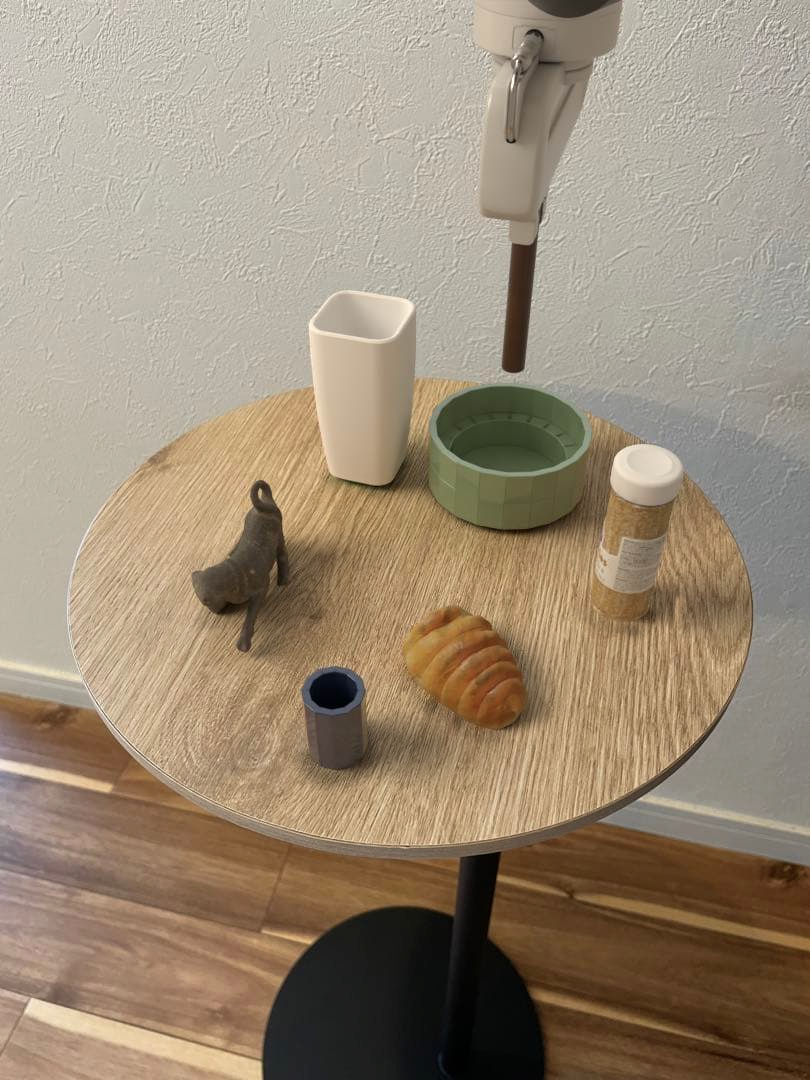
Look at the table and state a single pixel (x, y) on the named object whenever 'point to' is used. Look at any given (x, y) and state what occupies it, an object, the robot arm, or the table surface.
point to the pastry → (466, 667)
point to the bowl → (508, 455)
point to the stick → (519, 305)
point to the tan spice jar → (634, 530)
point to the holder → (335, 717)
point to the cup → (364, 383)
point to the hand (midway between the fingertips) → (526, 230)
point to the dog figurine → (248, 564)
